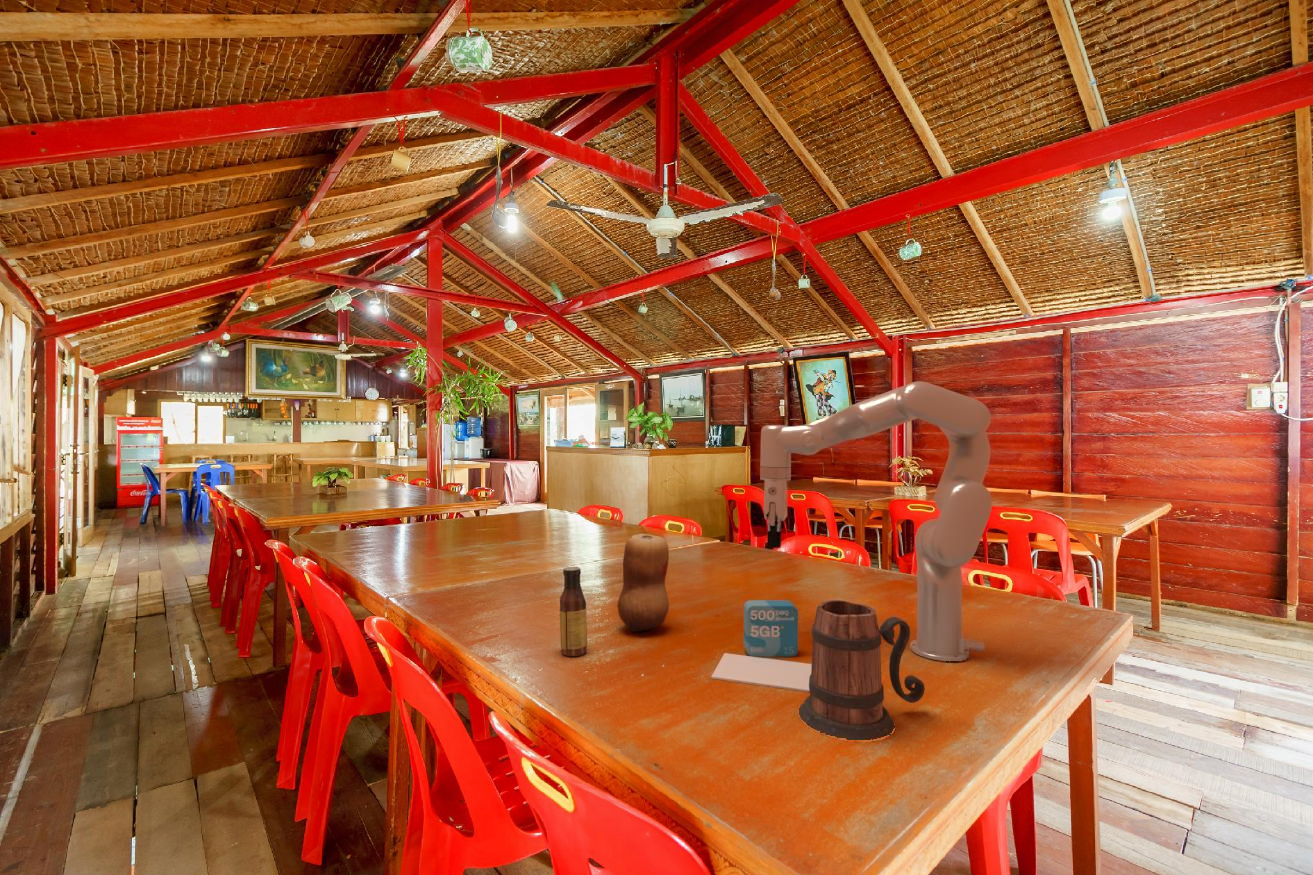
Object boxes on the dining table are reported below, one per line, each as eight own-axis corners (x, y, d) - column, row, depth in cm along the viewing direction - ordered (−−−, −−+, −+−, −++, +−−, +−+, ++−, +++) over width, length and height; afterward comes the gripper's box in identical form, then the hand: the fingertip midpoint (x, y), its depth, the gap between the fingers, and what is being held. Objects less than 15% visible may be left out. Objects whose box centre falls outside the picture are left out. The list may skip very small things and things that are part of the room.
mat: (813, 666, 127) (813, 664, 127) (809, 692, 114) (809, 690, 114) (724, 654, 133) (724, 653, 133) (711, 678, 120) (711, 676, 120)
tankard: (822, 746, 94) (822, 624, 94) (783, 700, 110) (784, 596, 110) (951, 735, 97) (952, 618, 97) (895, 692, 114) (895, 592, 114)
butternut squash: (663, 640, 143) (663, 540, 143) (611, 636, 145) (612, 538, 145) (672, 623, 156) (673, 532, 156) (625, 619, 159) (626, 530, 159)
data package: (746, 657, 132) (746, 605, 132) (743, 650, 136) (743, 599, 137) (798, 657, 132) (798, 605, 132) (793, 650, 137) (793, 600, 137)
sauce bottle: (592, 650, 135) (592, 566, 136) (577, 659, 130) (578, 572, 130) (569, 646, 138) (569, 564, 138) (553, 654, 132) (554, 569, 133)
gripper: (787, 476, 135) (786, 553, 135) (793, 473, 149) (791, 543, 149) (755, 475, 137) (754, 551, 137) (764, 472, 151) (763, 541, 151)
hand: (774, 546), depth 143 cm, fingers closed
